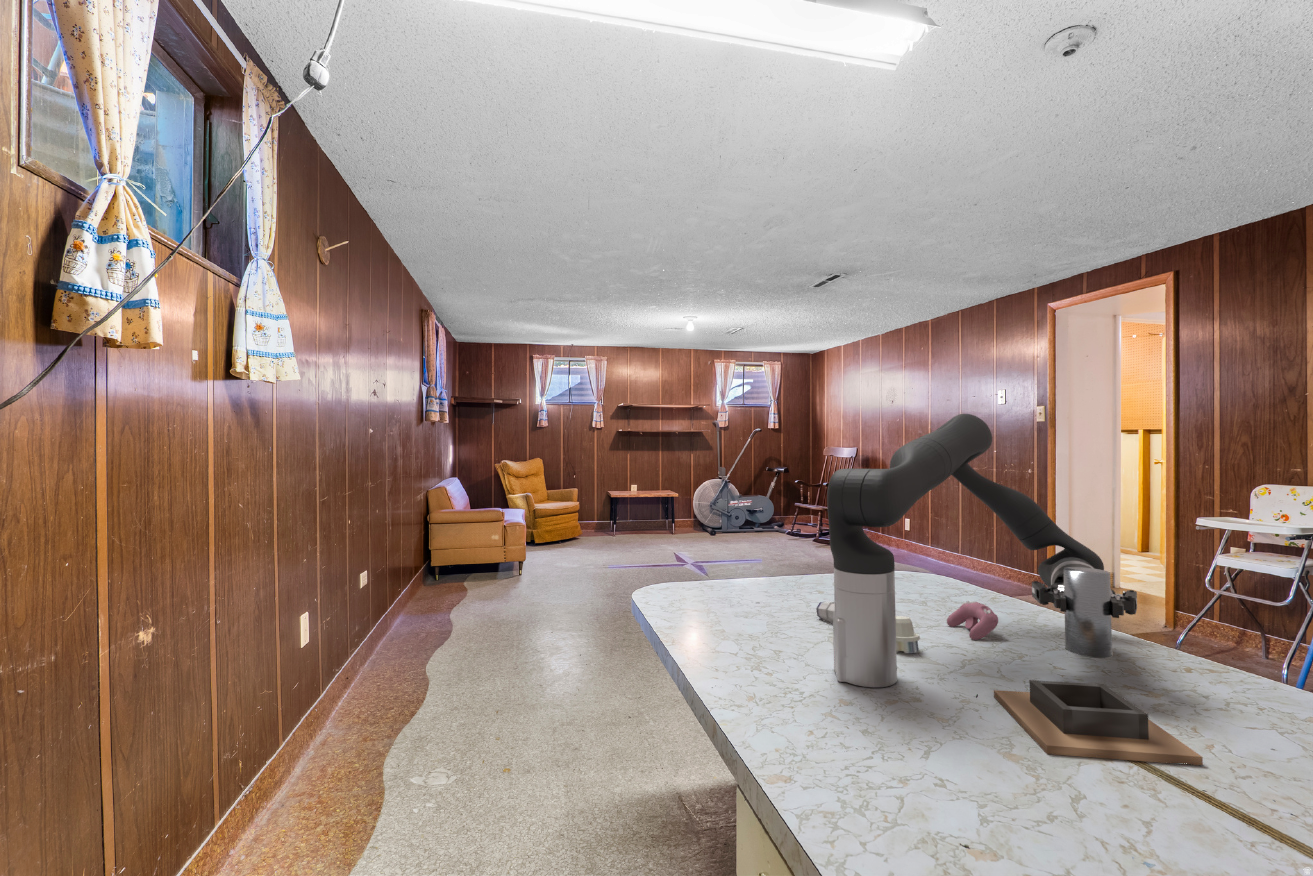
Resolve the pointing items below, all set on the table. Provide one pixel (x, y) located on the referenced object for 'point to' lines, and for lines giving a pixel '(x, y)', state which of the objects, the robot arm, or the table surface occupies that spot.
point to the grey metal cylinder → (1088, 612)
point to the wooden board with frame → (1091, 723)
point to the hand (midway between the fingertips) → (1089, 607)
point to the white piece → (904, 628)
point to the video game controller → (974, 619)
